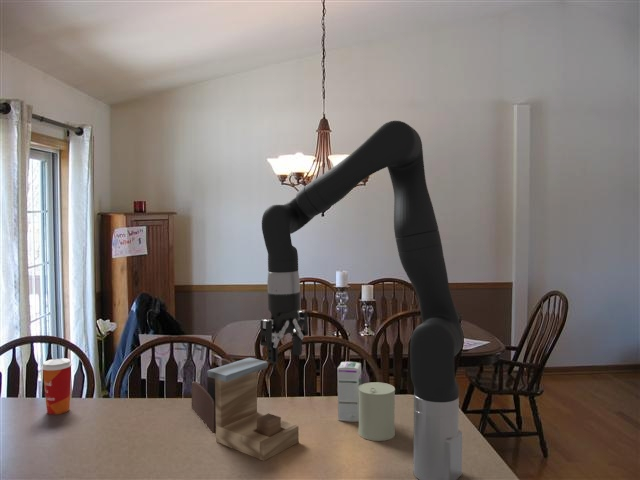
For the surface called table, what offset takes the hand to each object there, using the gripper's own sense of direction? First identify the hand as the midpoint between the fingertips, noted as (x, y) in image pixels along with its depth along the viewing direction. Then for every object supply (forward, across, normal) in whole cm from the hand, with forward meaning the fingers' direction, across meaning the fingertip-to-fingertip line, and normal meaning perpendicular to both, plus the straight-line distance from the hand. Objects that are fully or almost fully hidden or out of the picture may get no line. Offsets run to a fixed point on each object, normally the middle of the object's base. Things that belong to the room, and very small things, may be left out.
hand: (285, 359), depth 126 cm
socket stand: (+21, -3, +8) cm, 22 cm away
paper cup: (+20, -22, +66) cm, 72 cm away
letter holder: (+21, +3, +27) cm, 34 cm away
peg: (+21, -3, +4) cm, 21 cm away
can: (+22, +19, -13) cm, 32 cm away
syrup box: (+21, +23, -2) cm, 32 cm away
